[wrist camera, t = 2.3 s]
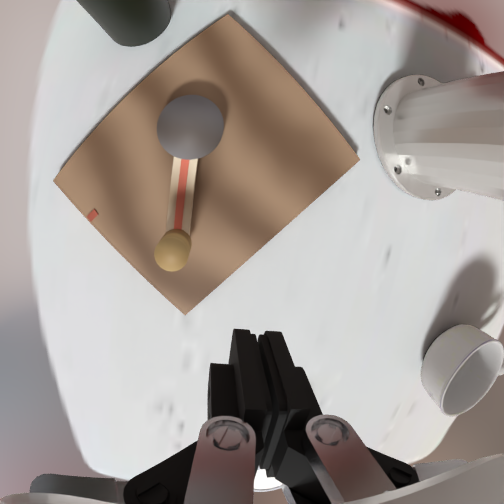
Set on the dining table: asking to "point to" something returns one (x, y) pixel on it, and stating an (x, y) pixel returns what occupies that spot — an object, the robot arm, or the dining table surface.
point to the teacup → (461, 368)
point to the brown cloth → (208, 162)
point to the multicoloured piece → (184, 169)
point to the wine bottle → (130, 19)
